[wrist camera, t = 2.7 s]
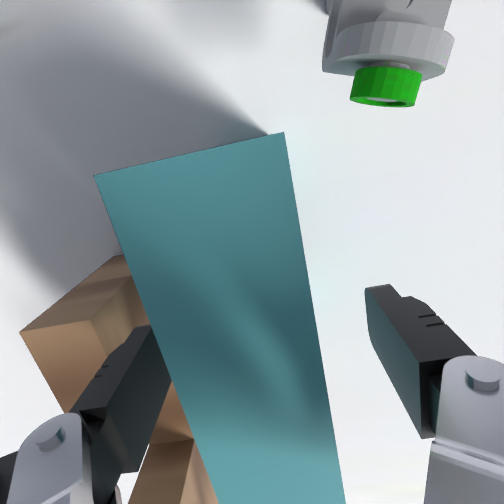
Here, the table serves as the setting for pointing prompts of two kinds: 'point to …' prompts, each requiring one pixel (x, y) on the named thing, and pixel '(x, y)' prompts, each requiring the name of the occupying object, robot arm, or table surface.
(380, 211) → the table surface
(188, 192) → the teal notched block
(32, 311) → the table surface
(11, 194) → the table surface
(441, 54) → the mechanical component
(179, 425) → the walnut slotted plate
